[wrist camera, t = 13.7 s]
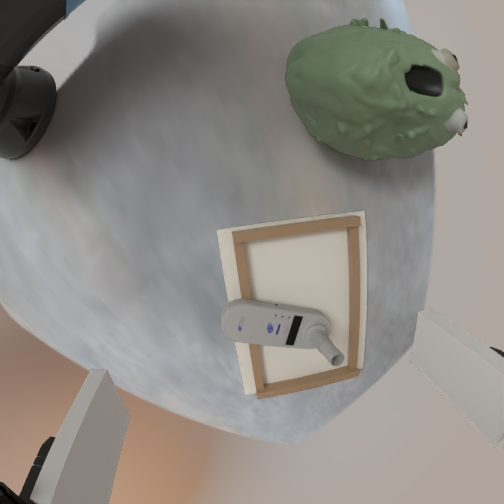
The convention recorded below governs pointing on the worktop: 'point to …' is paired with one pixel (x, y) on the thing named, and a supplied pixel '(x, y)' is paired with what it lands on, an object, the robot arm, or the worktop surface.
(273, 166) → the worktop surface
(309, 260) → the wooden framed canvas
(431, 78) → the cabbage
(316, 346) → the electronic device
